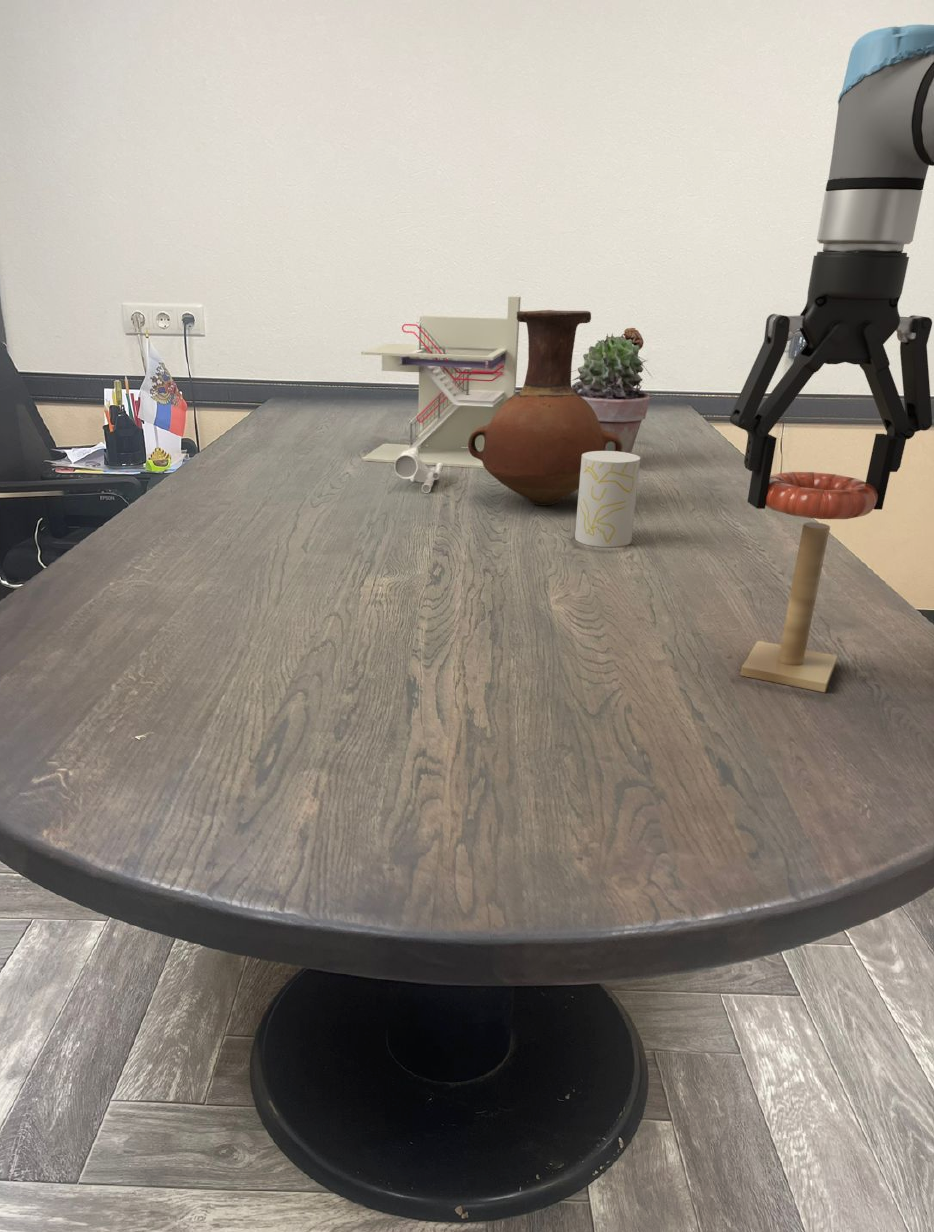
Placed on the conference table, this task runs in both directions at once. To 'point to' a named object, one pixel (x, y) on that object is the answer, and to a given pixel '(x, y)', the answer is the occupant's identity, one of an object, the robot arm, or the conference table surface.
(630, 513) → the white patterned cylinder
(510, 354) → the staircase
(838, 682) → the conference table surface
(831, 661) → the post
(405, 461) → the white pipe fitting
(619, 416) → the potted plant
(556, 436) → the vase
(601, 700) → the conference table surface
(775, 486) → the ring
